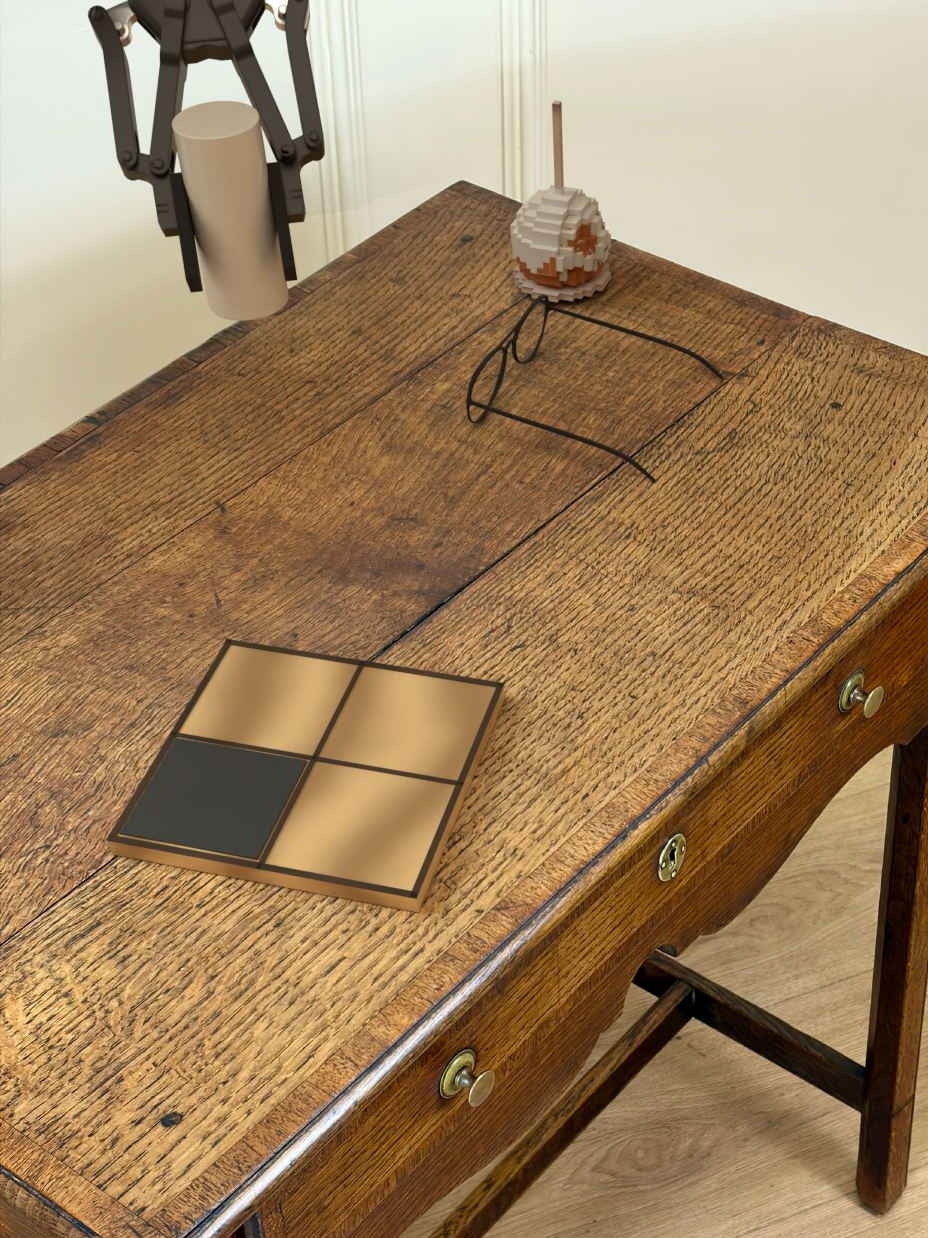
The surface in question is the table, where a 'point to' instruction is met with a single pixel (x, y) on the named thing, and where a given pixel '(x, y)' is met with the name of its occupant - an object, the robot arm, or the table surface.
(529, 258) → the caramel apple
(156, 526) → the table surface
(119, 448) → the table surface
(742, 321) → the table surface
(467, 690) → the board
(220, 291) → the cream cylinder
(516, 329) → the glasses
